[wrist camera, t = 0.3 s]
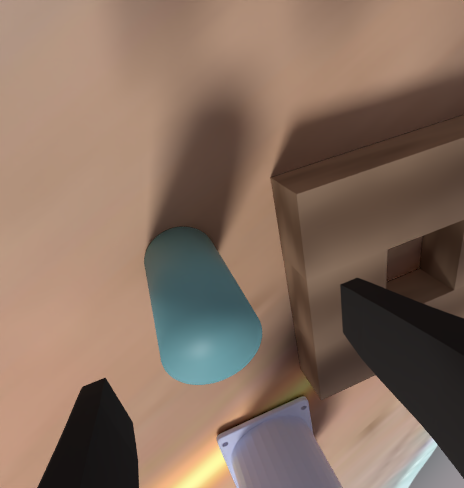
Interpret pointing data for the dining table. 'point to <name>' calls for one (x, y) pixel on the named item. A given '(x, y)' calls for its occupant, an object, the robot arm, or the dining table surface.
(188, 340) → the peg
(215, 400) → the dining table surface
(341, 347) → the socket block
